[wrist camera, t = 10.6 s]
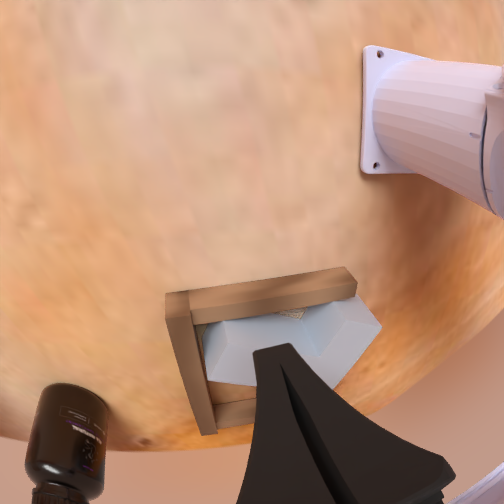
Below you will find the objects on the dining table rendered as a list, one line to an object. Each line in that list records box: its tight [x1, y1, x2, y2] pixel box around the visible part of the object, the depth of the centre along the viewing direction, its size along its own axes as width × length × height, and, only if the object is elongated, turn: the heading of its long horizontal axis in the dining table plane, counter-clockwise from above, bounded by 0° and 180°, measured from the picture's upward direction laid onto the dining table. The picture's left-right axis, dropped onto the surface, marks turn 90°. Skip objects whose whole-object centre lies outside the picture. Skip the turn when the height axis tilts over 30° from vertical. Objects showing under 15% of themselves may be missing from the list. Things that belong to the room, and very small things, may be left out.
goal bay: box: [165, 267, 358, 436], centre depth 23 cm, size 12×14×2 cm
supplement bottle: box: [25, 383, 108, 504], centre depth 18 cm, size 7×7×12 cm
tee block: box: [202, 294, 382, 390], centre depth 22 cm, size 10×10×4 cm
